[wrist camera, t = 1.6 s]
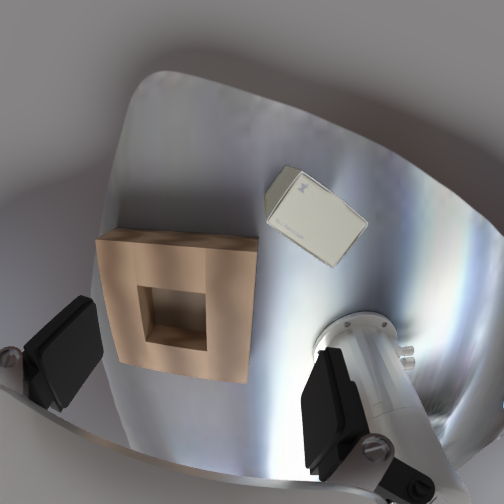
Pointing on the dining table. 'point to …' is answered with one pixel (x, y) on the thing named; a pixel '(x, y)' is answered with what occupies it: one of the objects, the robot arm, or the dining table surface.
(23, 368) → the robot arm
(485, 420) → the dining table surface
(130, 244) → the socket block
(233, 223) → the dining table surface
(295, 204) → the skincare box
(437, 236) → the dining table surface
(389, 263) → the dining table surface
